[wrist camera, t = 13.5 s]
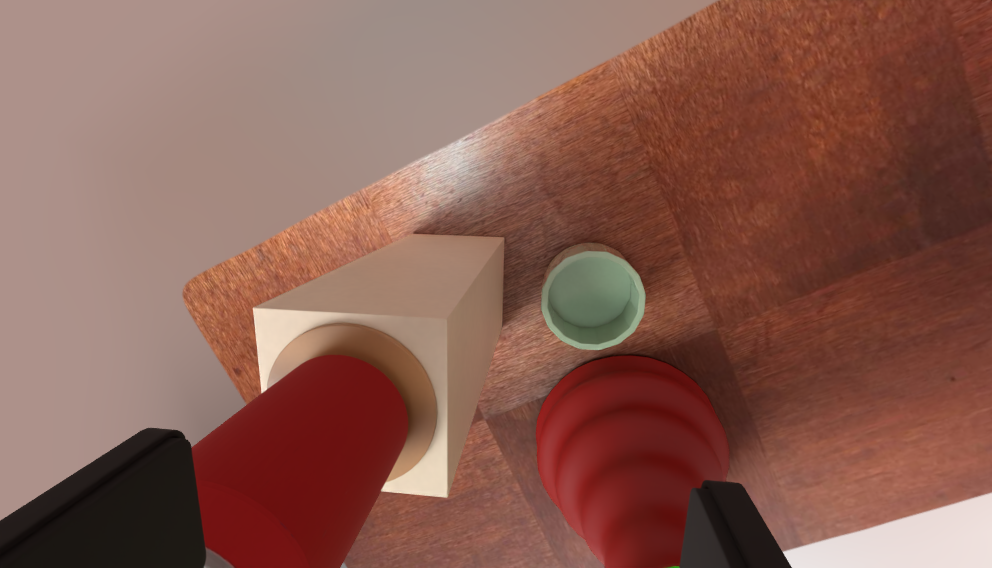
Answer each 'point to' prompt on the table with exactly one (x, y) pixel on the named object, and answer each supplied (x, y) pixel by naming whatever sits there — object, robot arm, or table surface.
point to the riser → (410, 328)
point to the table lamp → (629, 456)
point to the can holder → (592, 296)
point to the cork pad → (384, 357)
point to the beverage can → (299, 467)
